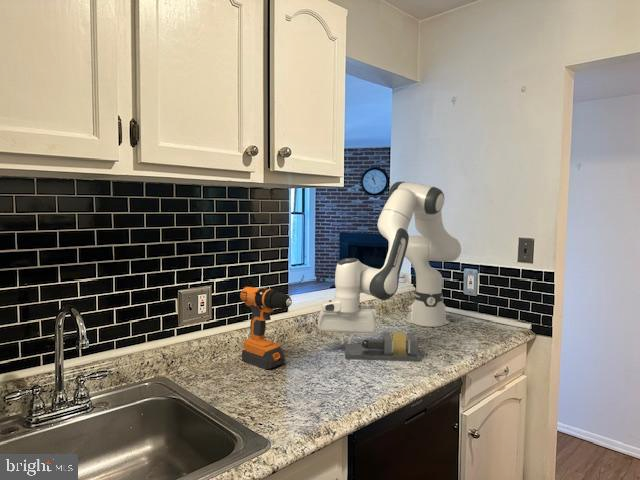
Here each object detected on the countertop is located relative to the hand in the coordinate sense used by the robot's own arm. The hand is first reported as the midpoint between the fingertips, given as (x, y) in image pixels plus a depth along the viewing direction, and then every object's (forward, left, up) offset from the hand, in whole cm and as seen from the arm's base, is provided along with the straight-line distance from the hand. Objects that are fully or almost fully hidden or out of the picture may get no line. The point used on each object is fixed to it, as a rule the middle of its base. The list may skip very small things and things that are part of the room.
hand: (345, 343), depth 155 cm
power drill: (+14, -25, -4) cm, 29 cm away
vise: (0, +12, -3) cm, 13 cm away
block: (0, +18, -2) cm, 18 cm away
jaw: (0, +11, -2) cm, 11 cm away
